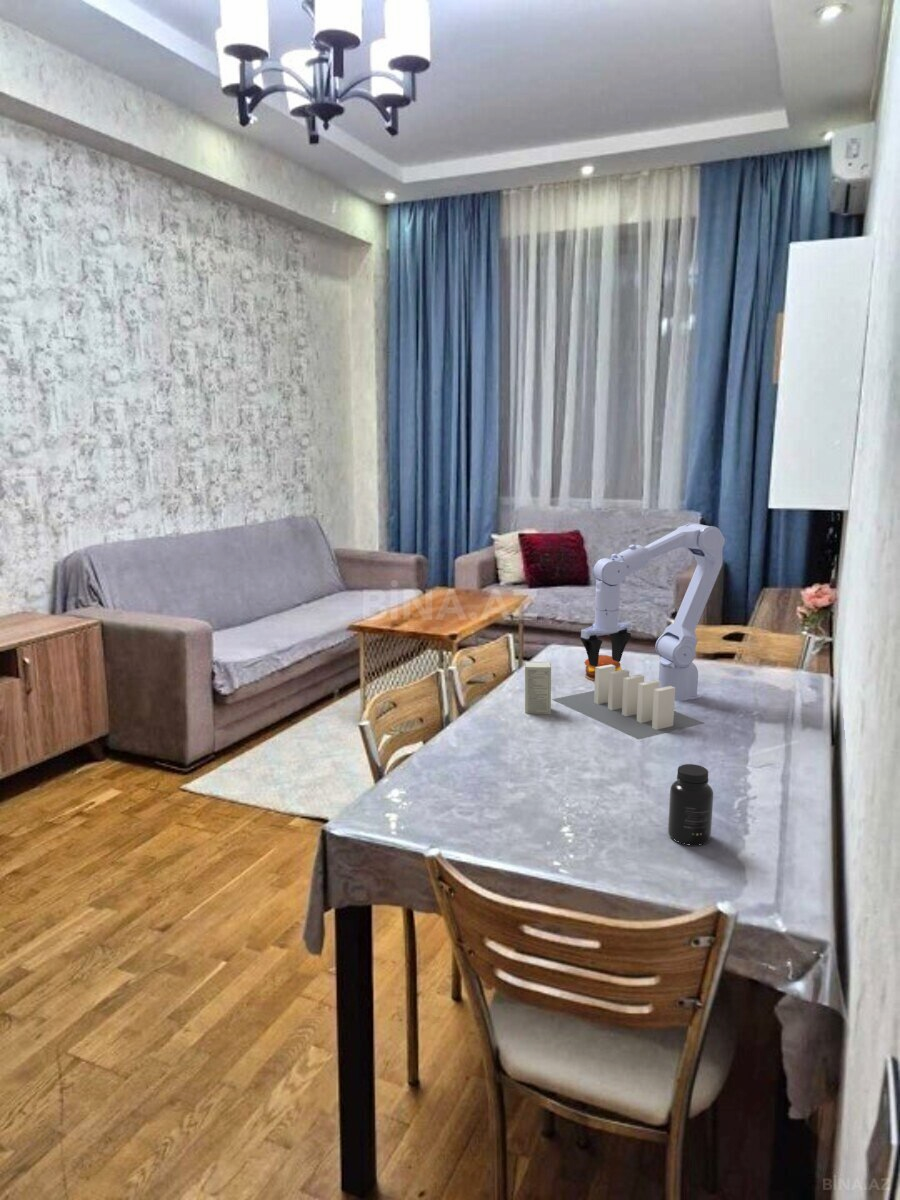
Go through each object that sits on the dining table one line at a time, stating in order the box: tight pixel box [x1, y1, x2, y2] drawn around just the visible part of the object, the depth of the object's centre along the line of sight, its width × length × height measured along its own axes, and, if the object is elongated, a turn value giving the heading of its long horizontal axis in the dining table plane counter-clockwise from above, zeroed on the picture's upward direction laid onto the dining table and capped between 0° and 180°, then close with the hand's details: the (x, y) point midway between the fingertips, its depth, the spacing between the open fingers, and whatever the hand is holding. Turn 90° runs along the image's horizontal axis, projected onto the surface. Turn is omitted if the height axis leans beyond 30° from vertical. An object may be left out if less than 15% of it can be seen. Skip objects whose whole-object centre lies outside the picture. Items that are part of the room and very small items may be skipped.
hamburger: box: [583, 654, 623, 682], centre depth 220 cm, size 9×10×7 cm
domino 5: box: [652, 686, 676, 730], centre depth 183 cm, size 2×5×9 cm, turn 120°
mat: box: [551, 690, 704, 740], centre depth 195 cm, size 20×31×1 cm, turn 30°
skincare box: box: [524, 661, 552, 715], centre depth 194 cm, size 6×4×12 cm
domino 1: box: [594, 664, 615, 704], centre depth 200 cm, size 2×5×9 cm, turn 120°
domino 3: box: [622, 674, 645, 716], centre depth 192 cm, size 2×5×9 cm, turn 120°
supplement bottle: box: [667, 763, 714, 846], centre depth 134 cm, size 7×7×12 cm
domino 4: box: [637, 679, 659, 723], centre depth 187 cm, size 2×5×9 cm, turn 120°
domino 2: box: [608, 669, 630, 710], centre depth 196 cm, size 2×5×9 cm, turn 120°
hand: (604, 663), depth 199 cm, fingers open, 7 cm apart
